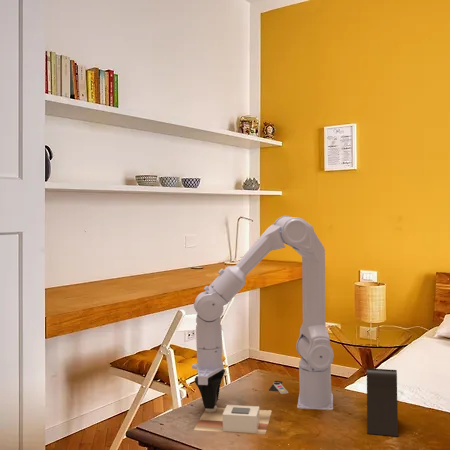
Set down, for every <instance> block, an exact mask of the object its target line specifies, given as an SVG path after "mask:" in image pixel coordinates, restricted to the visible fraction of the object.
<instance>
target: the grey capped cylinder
mask: <svg viewBox="0 0 450 450" xmlns="http://www.w3.org/2000/svg"><path fill="white" fill-rule="evenodd" d="M217 408H218V401H217V398H216V401H215V406H214V409H207V408H205V407H204V409H205V410H204V411H206V412H207V413H215V412H217Z"/></svg>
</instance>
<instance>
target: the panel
mask: <svg viewBox="0 0 450 450" xmlns="http://www.w3.org/2000/svg"><path fill="white" fill-rule="evenodd" d="M225 408H226V407H217V412H215V413H207V412H206V411H205V410H204V411H203V412H202V414H201V416H200V418H199V420H198V421H197V422H196V425H195V427H194V429H193V431H200V432H201V431H202V432H203V431H204V432H218V433H219V432H221V433H234V434H235V433H236V434H251V435H266V433H267V430H268V427H269V422H270V420H271V415H272V412H273V410H271V409H269V410H268V409H259V410H260V424H259V427H258V430H257V433H247V432H231V431H223V416H222V414H223V412H224V410H225Z"/></svg>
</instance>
